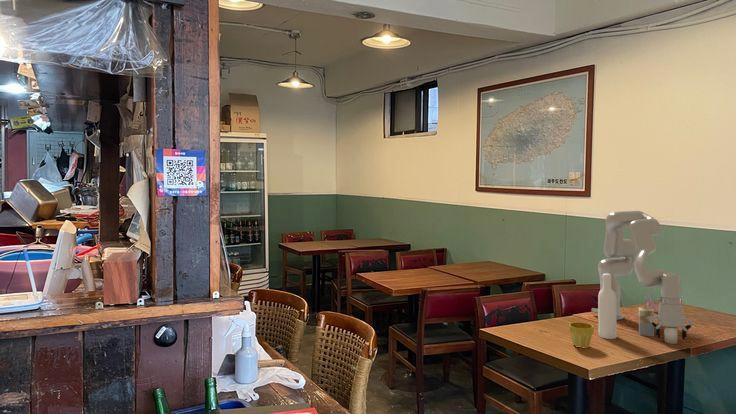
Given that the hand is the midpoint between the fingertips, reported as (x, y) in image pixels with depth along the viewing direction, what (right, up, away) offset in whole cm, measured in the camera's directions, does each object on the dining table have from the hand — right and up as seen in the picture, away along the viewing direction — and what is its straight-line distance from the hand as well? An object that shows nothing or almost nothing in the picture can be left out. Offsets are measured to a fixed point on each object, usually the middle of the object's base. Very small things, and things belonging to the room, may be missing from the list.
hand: (670, 338), depth 230 cm
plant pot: (-41, -4, -1) cm, 41 cm away
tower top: (-4, +5, +13) cm, 14 cm away
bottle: (-24, -2, +11) cm, 26 cm away
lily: (+19, +1, +51) cm, 54 cm away
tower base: (-4, -1, +13) cm, 14 cm away
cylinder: (0, -2, 0) cm, 2 cm away
